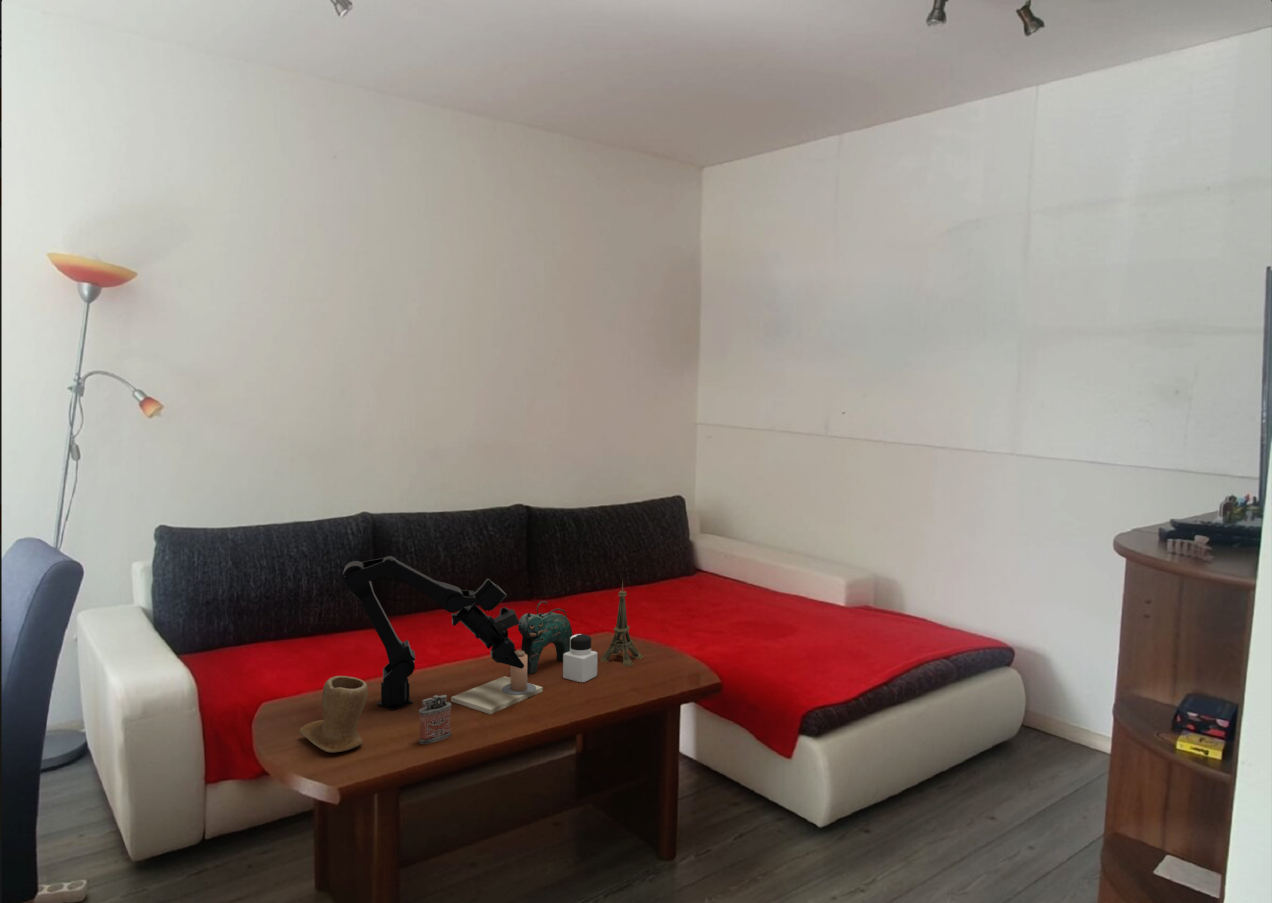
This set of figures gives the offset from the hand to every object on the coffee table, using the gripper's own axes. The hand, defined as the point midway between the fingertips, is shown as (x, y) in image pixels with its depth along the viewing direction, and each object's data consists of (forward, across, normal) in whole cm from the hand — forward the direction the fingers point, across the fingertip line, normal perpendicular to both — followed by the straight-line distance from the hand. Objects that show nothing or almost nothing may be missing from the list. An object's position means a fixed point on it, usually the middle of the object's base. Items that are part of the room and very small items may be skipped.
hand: (520, 661), depth 226 cm
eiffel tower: (+30, +21, -18) cm, 41 cm away
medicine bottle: (+19, +9, -7) cm, 22 cm away
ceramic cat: (+14, +20, -1) cm, 24 cm away
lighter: (-10, -24, +23) cm, 35 cm away
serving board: (+2, -1, +10) cm, 11 cm away
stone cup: (-25, -21, +38) cm, 51 cm away
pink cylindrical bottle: (+5, 0, +5) cm, 7 cm away
